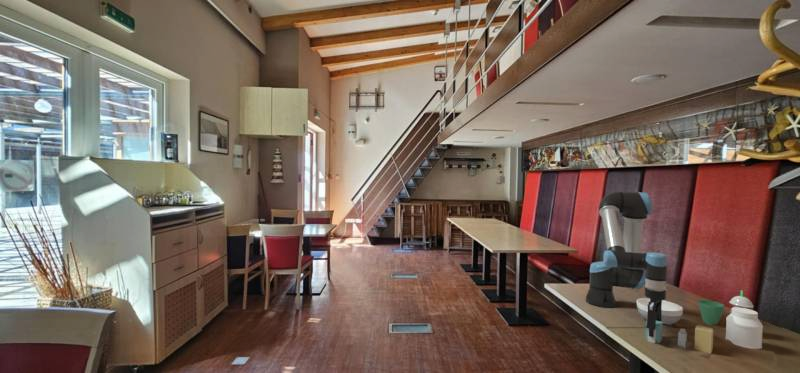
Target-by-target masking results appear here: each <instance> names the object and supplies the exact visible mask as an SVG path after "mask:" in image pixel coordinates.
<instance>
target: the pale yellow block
mask: <svg viewBox="0 0 800 373" xmlns="http://www.w3.org/2000/svg"><path fill="white" fill-rule="evenodd" d="M694 344H695V345H694V349H696V350H700V351H704V352H707V353H711V352H712V353H713V351H712V350H714V328H711V327H707V326H703V325H700V324H699V325H698V324H697V325H696V326H695V329H694ZM712 353H711V354H712Z"/></svg>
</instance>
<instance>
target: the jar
mask: <svg viewBox="0 0 800 373" xmlns="http://www.w3.org/2000/svg"><path fill="white" fill-rule="evenodd" d="M758 317H759V313H758V312H757V311H756V310H754V309H753V310H750V309H746V308H740V307H733V308H732V312H731V314H730V313H729V314H728V315H727V316H726V318H725V319H726V321H725V322H726V326H725V327H726V328H725V340H727V341H729V342H731V343H732V344H733V345H735V346H738V347H741V348H746V349H752V350H760V349H763V329H764V325H763V324H762V322H761V321H760V319H759V318H758Z"/></svg>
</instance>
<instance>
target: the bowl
mask: <svg viewBox="0 0 800 373" xmlns="http://www.w3.org/2000/svg"><path fill="white" fill-rule="evenodd" d="M649 302H650V298H647V297H644V298H643V297H642V298H638V299H636V308H637V310H638V313H639V314H640V315H641V317H642V318H644V319H645V320H646V321H647V315H648V304H649ZM683 312H684V308H683V306H681V305H679V304H677V303H675V302H672V301H668V300H666V299H665V300H662V317H661V319H662V321H661V322H663V325H667V326H672V325H673V324H676V323H678V321H680V320H681V319H682V316H683Z"/></svg>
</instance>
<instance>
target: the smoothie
mask: <svg viewBox="0 0 800 373" xmlns="http://www.w3.org/2000/svg"><path fill="white" fill-rule="evenodd" d="M743 294H744V292H743V290H742V289H741V290H740V295H736V296H734V297H732V298H731V299H730V300H729V301H728V303H729V315H730V314H731V312H732V308H733V307H740V308H746V309H750V310H753V311H754V304H753V302H752V301H751V300H750V299H749V298H748V297H746V296H743Z"/></svg>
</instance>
